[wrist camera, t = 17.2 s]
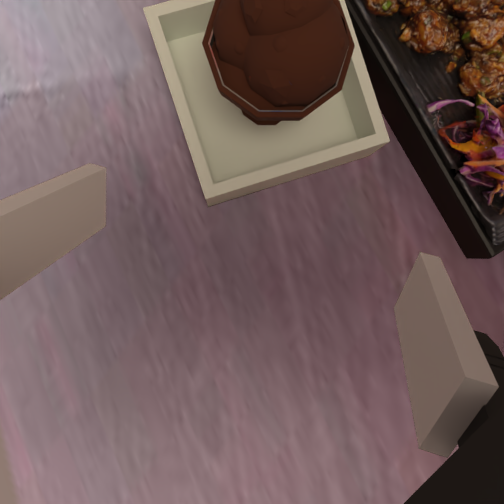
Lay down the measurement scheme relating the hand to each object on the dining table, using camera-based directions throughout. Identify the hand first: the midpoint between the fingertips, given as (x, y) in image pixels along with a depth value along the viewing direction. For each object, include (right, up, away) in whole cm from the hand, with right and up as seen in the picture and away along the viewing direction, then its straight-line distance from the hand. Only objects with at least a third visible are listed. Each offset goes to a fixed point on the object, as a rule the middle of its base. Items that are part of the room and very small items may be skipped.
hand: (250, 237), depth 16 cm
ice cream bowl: (+1, +14, +22) cm, 26 cm away
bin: (+1, +15, +22) cm, 27 cm away
